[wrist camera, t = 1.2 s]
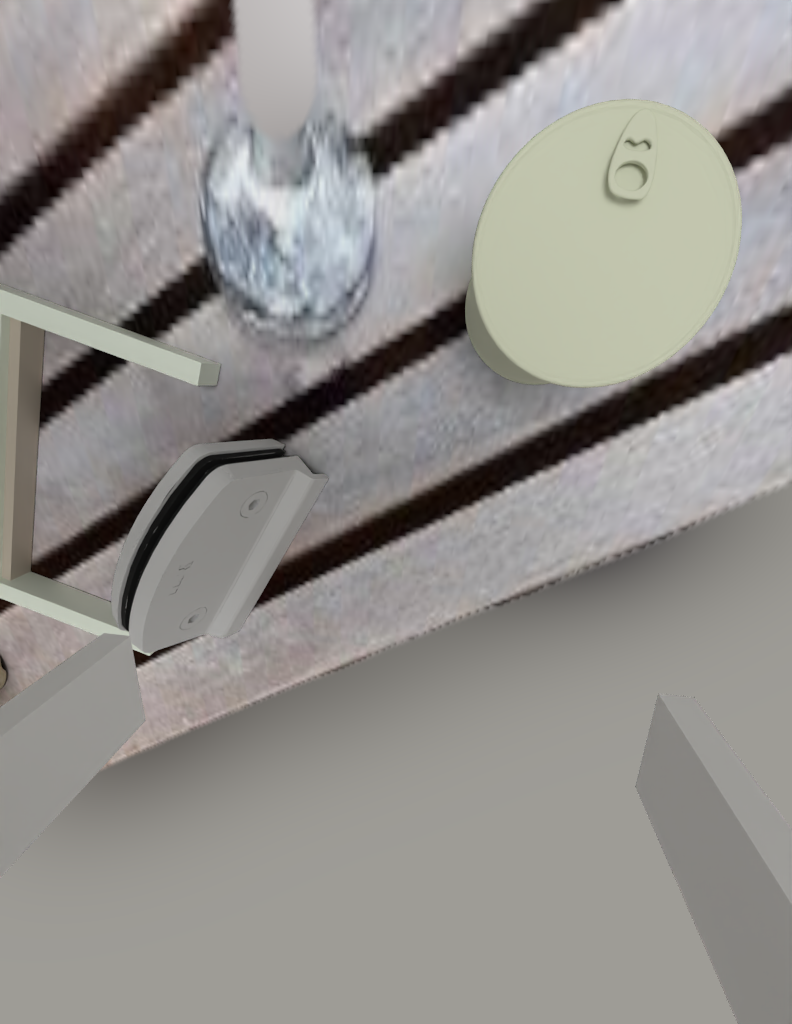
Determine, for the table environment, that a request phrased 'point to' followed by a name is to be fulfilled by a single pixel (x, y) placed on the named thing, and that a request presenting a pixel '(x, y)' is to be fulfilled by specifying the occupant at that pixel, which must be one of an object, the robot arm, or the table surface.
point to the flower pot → (2, 676)
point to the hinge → (210, 541)
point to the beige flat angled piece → (15, 430)
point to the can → (603, 246)
